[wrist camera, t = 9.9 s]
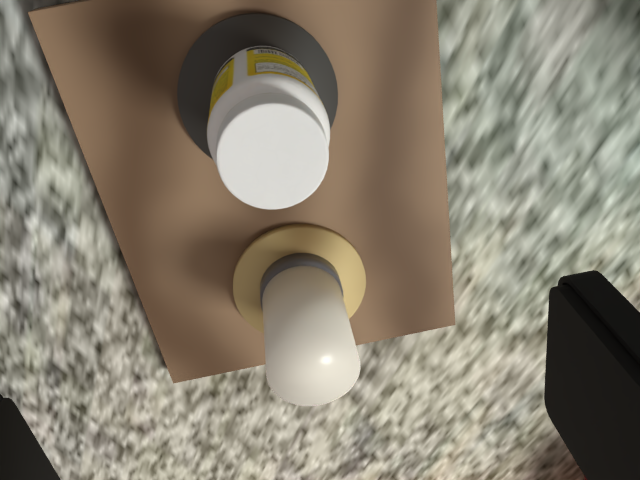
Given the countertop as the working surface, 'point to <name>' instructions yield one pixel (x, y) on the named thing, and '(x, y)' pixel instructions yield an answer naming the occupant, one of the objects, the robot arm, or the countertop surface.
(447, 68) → the countertop surface
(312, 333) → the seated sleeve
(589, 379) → the robot arm
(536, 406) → the countertop surface
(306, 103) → the supplement bottle
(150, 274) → the pin board
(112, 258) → the countertop surface
